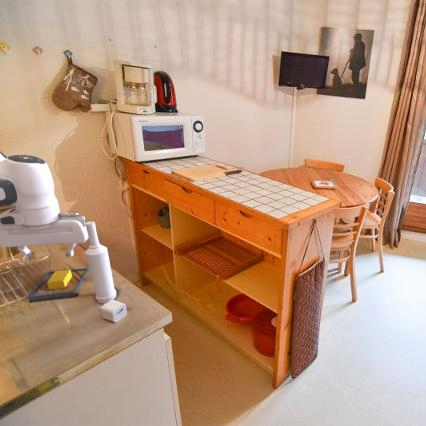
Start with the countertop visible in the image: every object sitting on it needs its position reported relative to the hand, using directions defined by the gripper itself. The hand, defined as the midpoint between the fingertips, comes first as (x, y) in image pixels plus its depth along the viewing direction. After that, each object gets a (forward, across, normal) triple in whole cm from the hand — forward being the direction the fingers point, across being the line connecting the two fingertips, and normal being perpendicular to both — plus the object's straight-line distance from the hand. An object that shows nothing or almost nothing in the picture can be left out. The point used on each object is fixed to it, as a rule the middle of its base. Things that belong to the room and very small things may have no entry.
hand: (50, 256), depth 93 cm
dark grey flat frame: (+11, -1, 0) cm, 11 cm away
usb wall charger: (+11, -18, +17) cm, 27 cm away
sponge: (+10, -1, 0) cm, 10 cm away
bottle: (+11, -15, +8) cm, 20 cm away
